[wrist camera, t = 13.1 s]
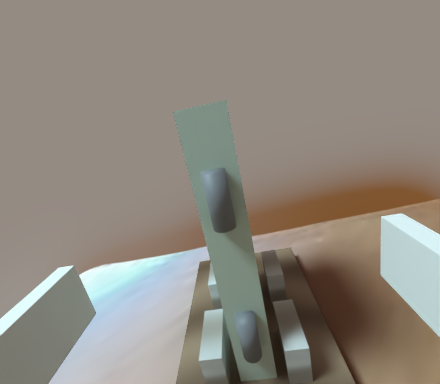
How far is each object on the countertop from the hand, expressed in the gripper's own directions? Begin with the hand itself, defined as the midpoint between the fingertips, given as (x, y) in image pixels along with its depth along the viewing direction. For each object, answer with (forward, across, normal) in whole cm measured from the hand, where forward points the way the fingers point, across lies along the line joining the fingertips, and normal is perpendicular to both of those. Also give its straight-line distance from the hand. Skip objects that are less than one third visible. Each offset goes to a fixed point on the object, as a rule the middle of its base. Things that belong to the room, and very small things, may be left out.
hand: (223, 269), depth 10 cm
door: (+8, 0, -11) cm, 14 cm away
